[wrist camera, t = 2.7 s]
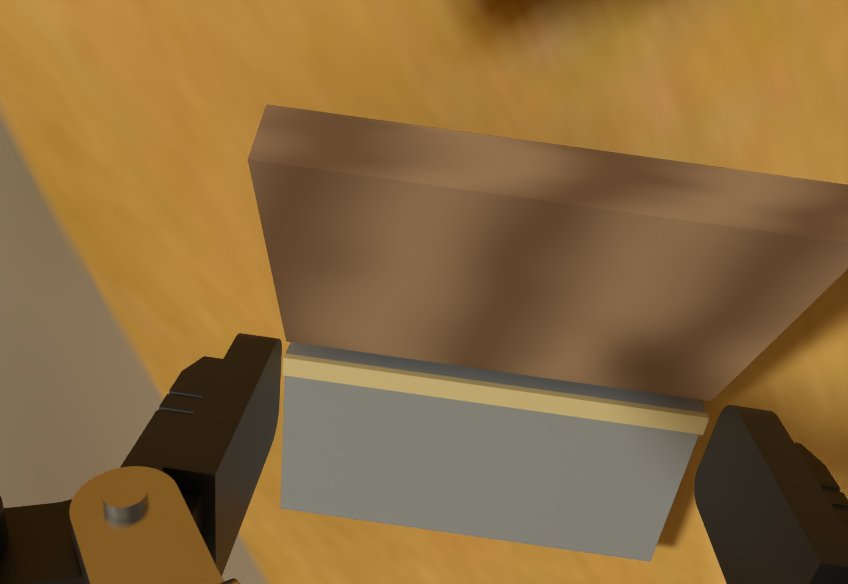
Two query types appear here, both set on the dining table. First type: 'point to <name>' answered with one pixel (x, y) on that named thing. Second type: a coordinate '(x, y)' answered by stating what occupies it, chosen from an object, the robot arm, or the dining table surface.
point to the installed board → (482, 451)
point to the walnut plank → (536, 252)
